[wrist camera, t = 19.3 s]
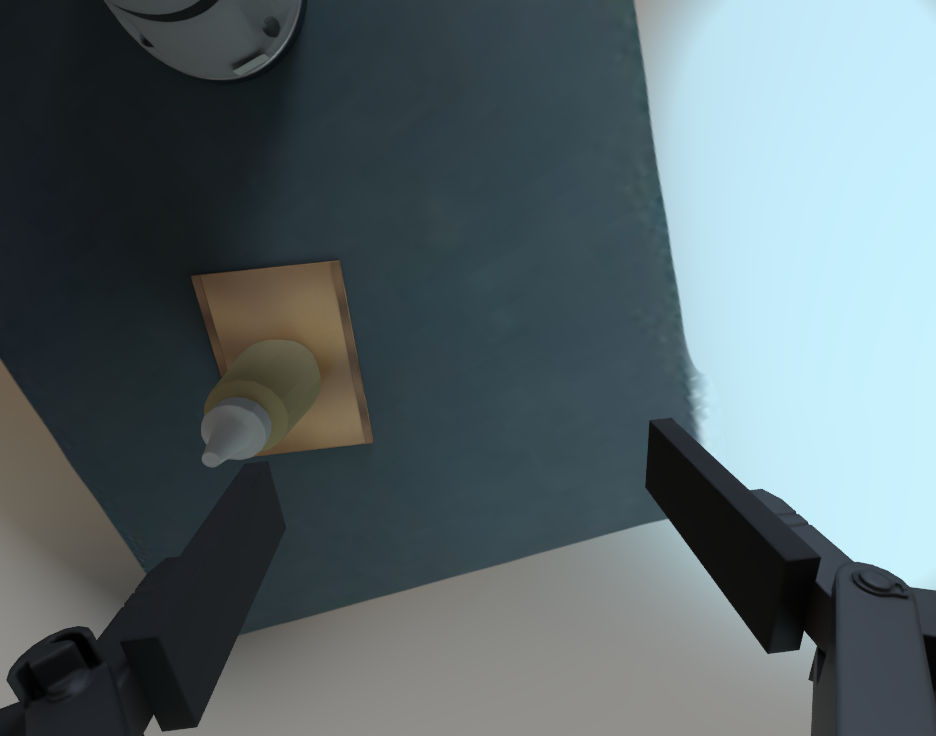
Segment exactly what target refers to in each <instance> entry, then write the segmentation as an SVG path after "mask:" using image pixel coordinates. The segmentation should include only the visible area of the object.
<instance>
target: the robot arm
mask: <svg viewBox="0 0 936 736" xmlns="http://www.w3.org/2000/svg"><path fill="white" fill-rule="evenodd" d="M104 1H105V3H106V4H107V6H108V7H109V8H110V10H111V11H112V13H113V14H114V15H115V17H116V18H117V19H118V21H119V22H120V23H121V24H122V26H123V27H124V28H125V29H126V30H127V31H128V33H129V34H130V35H131V36H132V37H133V38H134V39H135V40H136V41H137V42H138V43H139V44H140V45H141V46H142V47H144V48H145V49H146V50H147V51H148V52H149V53H151V54H152V55H153V56H155V57H156V58H157V59H159V60H160V61H162V62H164V63H165V64H167V65H168V66H170V67H172V68H174V69H176V70H178V71H180V72H182V73H184V74H186V75H189V76H191V77H194V78H196V79H200V80H203V81H207V82H213V83H222V84H229V83H239V82H244V81H248V80H251V79H254V78H256V77H259V76H261V75H263V74H264V73H266V72H268V71H269V70H271V69H272V68H273V67H275V66H276V65H277V64H278V63H279V62H280V61H281V60H282V59H283V58H284V57H285V55H286V54H287V53H288V51H289V50H290V48H291V47H292V45H293V43H294V42H295V40H296V38H297V35H298V33H299V31H300V28H301V25H302V21H303V18H304V13H305V7H306V0H104ZM645 487H646V489H647V490H648V491H649V493H650V494H651V495H652V497H653V498H654V500H655V501H656V502H657V504H658V505H659V506H660V508H661V509H662V510H663V512H664V513H665V515H666V516H667V517H668V519H669V520H670V521H671V522H672V524H673V525H674V527H675V528H676V530H677V531H678V532H679V534H680V535H681V536H682V538H683V539H684V540H685V542H686V543H687V545H688V546H689V547H690V549H691V550H692V551H693V553H694V554H695V555H696V557H697V558H698V559H699V561H700V562H701V564H702V565H703V566H704V568H705V569H706V570H707V572H708V573H709V574H710V576H711V577H712V578H713V580H714V581H715V583H716V584H717V585H718V587H719V588H720V589H721V591H722V592H723V593H724V595H725V596H726V598H727V599H728V600H729V602H730V603H731V604H732V606H733V607H734V608H735V610H736V611H737V613H738V614H739V615H740V617H741V618H742V620H743V621H744V622H745V624H746V625H747V626H748V628H749V629H750V630H751V632H752V633H753V635H754V636H755V637H756V639H757V640H758V641H759V643H760V644H761V645H762V647H763V648H764V650H765V651H766V652H767V654H770V653H779V652H786V651H794V650H799V649H800V645H801V641H802V637H803V632H804V631H805V632H806V633H807V634H808V635H809V636H810V638H811V639H812V640H813V641H814V642H815V644H816V645H817V648H816V652H815V656H814V660H813V664H812V668H811V672H810V676H809V680H811V681H813V702H812V725H811V736H936V591H935V590H927V589H920V588H912V587H909V586H908V585H907V584H906V583H905V582H904V581H903V580H902V579H900V578H899V577H897V576H895V575H894V574H892V573H890V572H889V571H887V570H884V569H881V568H879V567H876V566H874V565H870V564H865V563H860V562H854V561H852V560H851V559H850V558H849V557H848V556H846V555H845V554H844V553H843V552H842V551H841V550H840V549H838V548H837V547H836V546H835V545H834V544H833V543H832V542H830V541H829V540H828V539H827V538H826V537H825V536H823V535H822V534H821V533H820V532H819V531H818V530H816V529H815V528H814V527H813V526H812V525H809V524H808V522H807V521H806V520H805V519H804V518H803V517H802V516H800V515H799V514H796V511H795V510H793V509H792V508H791V507H790V506H789V505H788V504H786V503H785V502H784V501H783V500H782V499H780V498H778V497H776V496H774V495H773V494H771V493H769V492H767V491H765V490H763V489H757V490H748V489H747V488H746V487H745V486H744V485H743V484H742V483H741V482H740V481H739V480H738V479H736V478H735V477H734V476H733V475H732V474H731V473H730V472H729V471H728V470H727V469H726V468H725V467H724V466H723V465H721V464H720V463H719V462H718V461H717V460H716V459H715V458H714V457H713V456H712V455H711V454H710V453H708V452H707V451H706V450H705V449H704V448H703V447H702V446H701V445H700V444H699V443H698V442H697V441H695V440H694V439H693V438H692V437H691V436H690V435H689V434H688V433H687V432H686V431H685V430H684V429H683V428H681V427H680V426H679V425H678V424H677V423H676V422H675V421H674V420H673V419H672V418H667V419H658V420H650V423H649V439H648V454H647V470H646V485H645ZM285 529H286V526H285V522H284V518H283V515H282V511H281V507H280V504H279V500H278V496H277V493H276V489H275V485H274V482H273V478H272V474H271V470H270V467H269V463H268V461H266V462H257V463H248V464H244V466H243V467H242V469H241V470H240V472H239V473H238V474H237V476H236V477H235V479H234V480H233V481H232V483H231V484H230V486H229V487H228V489H227V490H226V491H225V493H224V494H223V496H222V497H221V498H220V500H219V501H218V503H217V504H216V506H215V507H214V508H213V510H212V511H211V513H210V514H209V515H208V517H207V518H206V520H205V521H204V523H203V524H202V525H201V527H200V528H199V530H198V531H197V532H196V534H195V535H194V537H193V538H192V540H191V541H190V542H189V544H188V545H187V547H186V548H185V549H184V551H183V552H182V554H181V555H180V556H179V557H173V558H166V559H165V560H163V561H162V562H161V563H160V564H159V565H157V566H156V567H155V568H154V569H152V570H151V571H150V572H149V573H148V574H147V575H146V576H145V578H144V579H143V580H142V581H141V583H140V584H139V585H138V587H137V588H136V590H135V593H133V594H132V595H131V596H130V597H129V599H128V600H127V601H126V603H125V606H124V607H122V608H121V609H120V610H119V612H118V613H117V614H116V616H115V617H114V618H113V620H112V621H111V622H110V624H109V625H108V626H107V628H106V629H105V630H104V631H103V633H102V634H101V635H100V637H99V638H98V640H96V638H95V637H94V635H93V633H92V631H91V630H90V629H89V628H88V627H81V626H77V627H72V628H67V629H63V630H61V631H59V632H57V633H54V634H52V635H49V636H48V637H46V638H45V639H43V640H41V641H40V642H38V643H37V644H35V645H33V646H32V647H31V648H30V649H28V650H27V651H26V652H25V653H24V654H23V655H21V656H20V657H19V658H18V660H17V661H16V662H15V663H14V665H13V666H12V667H11V669H10V670H9V674H8V677H7V682H8V683H9V685H10V687H11V688H12V690H13V691H14V693H15V695H16V696H17V698H18V700H19V701H20V702H17V703H15V704H12V705H9V706H7V707H4V708H1V709H0V736H144V734H143V733H144V731H145V729H146V728H147V726H148V724H149V722H150V720H151V718H152V717H153V715H154V716H155V718H156V720H157V722H158V724H159V726H160V728H161V730H162V732H163V731H171V730H179V729H187V728H194V727H197V726H198V724H199V722H200V720H201V717H202V715H203V712H204V711H205V708H206V706H207V704H208V702H209V699H210V697H211V695H212V693H213V691H214V688H215V686H216V684H217V681H218V679H219V677H220V675H221V673H222V670H223V668H224V666H225V663H226V661H227V659H228V657H229V655H230V652H231V650H232V648H233V646H234V643H235V641H236V639H237V637H238V634H239V632H240V630H241V628H242V625H243V623H244V621H245V619H246V616H247V614H248V612H249V610H250V607H251V605H252V603H253V601H254V598H255V596H256V594H257V592H258V590H259V587H260V585H261V583H262V581H263V578H264V576H265V574H266V572H267V569H268V567H269V565H270V563H271V560H272V558H273V556H274V554H275V551H276V549H277V547H278V545H279V542H280V540H281V538H282V536H283V533H284V531H285Z"/></svg>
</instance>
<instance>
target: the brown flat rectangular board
mask: <svg viewBox="0 0 936 736" xmlns="http://www.w3.org/2000/svg"><path fill="white" fill-rule="evenodd" d="M191 279H192V282H193V286H194V289H195V292H196V295H197V299H198V302H199V305H200V309H201V312H202V315H203V319H204V322H205V325H206V328H207V332H208V335H209V338H210V342H211V345H212V348H213V352H214V355H215V358H216V361H217V365H218V368H219V371H220V375H221V378H222V377H223V376H224V375H225V373H226V372H227V371H228V370H229V368H230V367H231V366H232V365H233V363H234V362H235V361H236V360H237V358H238V357H239V356H240V354H241V353H243V352H244V351H245V350H246V349H248V348H249V347H250V346H251V345H253V344H255V343H258V342H262V341H266V340H287V341H295V342H297V343H299V344H301V345H303V346H305V347H306V348H307V349H308V350H309V351H310V352H311V353H312V354H313V355H314V358H315V360H316V363H317V365H318V369H319V372H320V376H321V384H320V393H319V395H318V397H317V399H316V401H315V402H314V404H313V406H312V407H311V408H310V409H309V410H308V411H307V412H306V413H305V415H304V416H303V417H302V418H301V419H300V420H299V421H298V422H297V424H296V425H295V426H294V427H293V428H292V429H291V430H290V431H289V433H288V434H287V435H286V436H285V437H284V438H283V439H282V440H281V441H280V442H279V443H277V444H276V445H275V446H273V447H272V448H271V449H269V450H265V451H261V452H258V453H257V454H255V455H254V456H262V455H270V454H279V453H288V452H296V451H305V450H313V449H322V448H331V447H339V446H348V445H356V444H365V443H366V444H370V443H373V436H372V431H371V425H370V420H369V414H368V409H367V404H366V398H365V393H364V388H363V382H362V377H361V372H360V366H359V361H358V356H357V350H356V345H355V340H354V334H353V329H352V324H351V318H350V313H349V308H348V302H347V297H346V292H345V286H344V281H343V276H342V270H341V265H340V261H329V262H319V263H309V264H300V265H290V266H280V267H270V268H260V269H251V270H241V271H231V272H221V273H212V274H202V275H193V276H191Z"/></svg>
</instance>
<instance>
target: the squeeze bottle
mask: <svg viewBox="0 0 936 736" xmlns="http://www.w3.org/2000/svg"><path fill="white" fill-rule="evenodd" d="M320 384H321V376H320V372H319V369H318V365H317V363H316V360H315V358H314V355H313V354H312V353H311V352H310V351H309V350H308V349H307V348H306V347H305V346H303V345H301V344H299V343H297V342H295V341H287V340H266V341H262V342H258V343H255V344H253V345H251V346H250V347H249V348H248V349H246V350H245V351H244V352H243V353H241V354H240V356H239V357H238V358H237V360H236V361H235V362H234V363H233V365H232V366H231V367H230V368H229V370H228V371H227V372H226V373H225V375H224V376H223V377H222V379H221V380H220V381H219V382H218V384H217V385H216V386H215V387H214V389H213V390H212V391H211V392H210V394H209V396H208V398H207V401H206V403H205V405H204V419H203V421H202V423H201V435H202V437H203V439H204V441H205V443H206V445H207V446H206V449H205V451H204V454H203V456H202V462H203V463H204V464H205V465H206V466H208V467H216V466H218V465H219V464H221V463H222V462H224V461H225V460H227V459H235V460H242V459H246V458H250V457H253V456H254V455H255V454H257V453H258V452H261V451H265V450H269V449H271V448H272V447H273V446H275V445H276V444H277V443H279V442H280V441H281V440H282V439H283V438H284V437H285V436H286V435H287V434H288V433H289V431H290V430H291V429H292V428H293V427H294V426H295V425H296V424H297V422H298V421H299V420H300V419H301V418H302V417H303V416H304V415H305V413H306V412H307V411H308V410H309V409H310V408H311V407H312V406H313V404H314V402H315V401H316V399H317V397H318V395H319V393H320Z"/></svg>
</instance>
